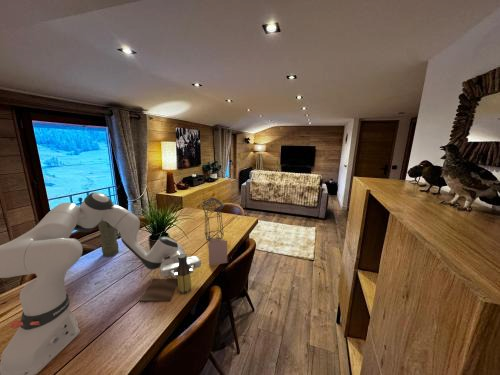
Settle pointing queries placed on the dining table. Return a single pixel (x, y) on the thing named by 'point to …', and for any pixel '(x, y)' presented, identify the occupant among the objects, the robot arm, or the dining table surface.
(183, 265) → the sauce bottle
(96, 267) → the dining table surface
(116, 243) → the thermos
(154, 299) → the walnut board
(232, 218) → the dining table surface
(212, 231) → the geometric lantern
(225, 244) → the greeting card
